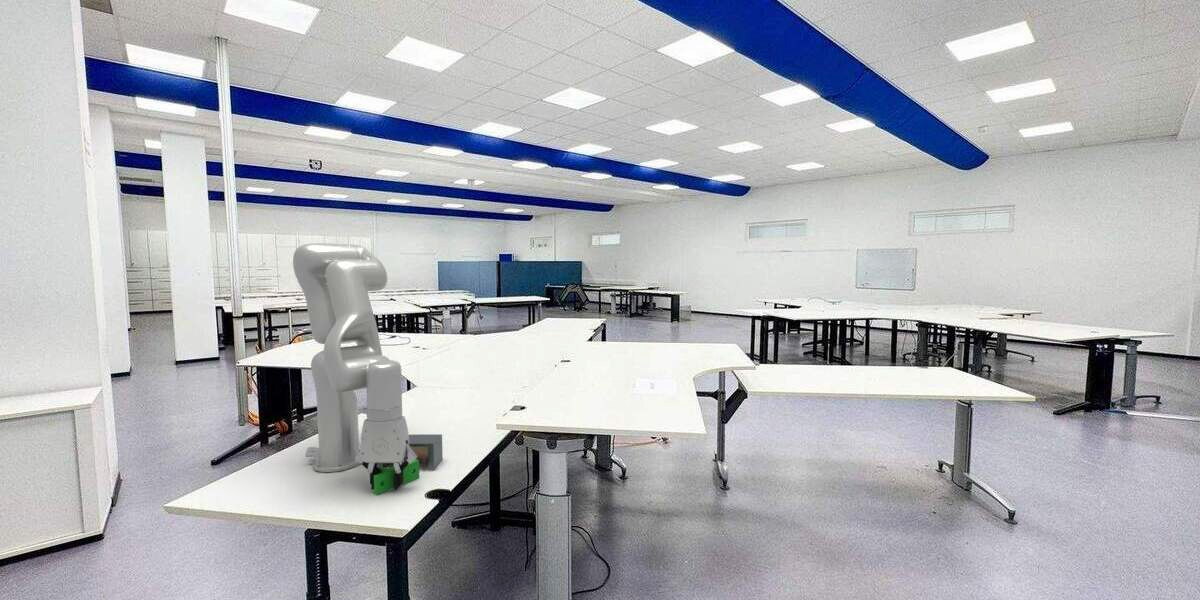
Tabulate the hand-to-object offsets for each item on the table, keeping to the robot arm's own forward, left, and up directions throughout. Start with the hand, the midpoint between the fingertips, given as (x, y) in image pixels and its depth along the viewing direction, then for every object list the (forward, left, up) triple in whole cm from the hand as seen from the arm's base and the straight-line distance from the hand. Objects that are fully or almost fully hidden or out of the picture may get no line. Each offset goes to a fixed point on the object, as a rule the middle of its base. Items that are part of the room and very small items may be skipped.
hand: (387, 486), depth 111 cm
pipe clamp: (+1, +2, -1) cm, 3 cm away
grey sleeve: (0, +13, -1) cm, 13 cm away
